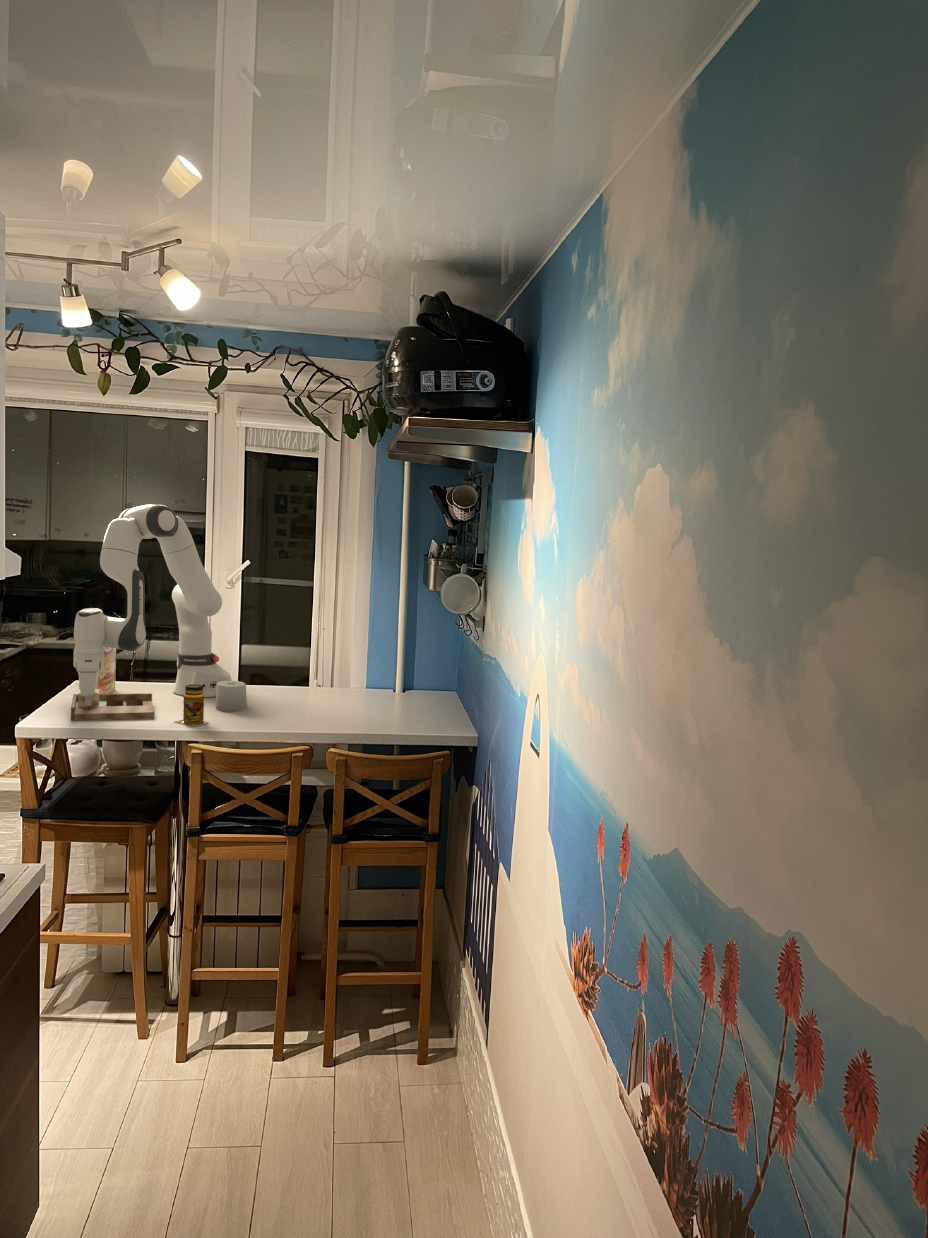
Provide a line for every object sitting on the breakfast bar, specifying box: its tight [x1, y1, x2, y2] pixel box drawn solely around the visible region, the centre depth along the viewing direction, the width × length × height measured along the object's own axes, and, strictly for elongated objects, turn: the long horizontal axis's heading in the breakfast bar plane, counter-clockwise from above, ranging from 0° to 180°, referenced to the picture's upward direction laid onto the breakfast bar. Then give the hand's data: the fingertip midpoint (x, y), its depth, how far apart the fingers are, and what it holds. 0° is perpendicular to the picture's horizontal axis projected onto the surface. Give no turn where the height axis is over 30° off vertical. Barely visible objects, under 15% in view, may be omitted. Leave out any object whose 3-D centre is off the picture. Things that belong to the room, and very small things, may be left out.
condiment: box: [174, 684, 210, 728], centre depth 284 cm, size 7×8×12 cm
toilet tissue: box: [215, 680, 248, 713], centre depth 307 cm, size 9×13×9 cm
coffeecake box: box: [78, 646, 117, 694], centre depth 312 cm, size 15×7×20 cm, turn 179°
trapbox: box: [70, 692, 155, 721], centre depth 290 cm, size 24×18×4 cm
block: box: [77, 688, 99, 706], centre depth 291 cm, size 6×6×4 cm
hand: (88, 704), depth 285 cm, fingers closed
